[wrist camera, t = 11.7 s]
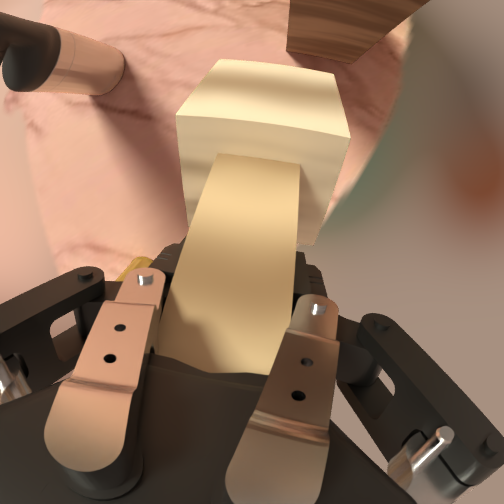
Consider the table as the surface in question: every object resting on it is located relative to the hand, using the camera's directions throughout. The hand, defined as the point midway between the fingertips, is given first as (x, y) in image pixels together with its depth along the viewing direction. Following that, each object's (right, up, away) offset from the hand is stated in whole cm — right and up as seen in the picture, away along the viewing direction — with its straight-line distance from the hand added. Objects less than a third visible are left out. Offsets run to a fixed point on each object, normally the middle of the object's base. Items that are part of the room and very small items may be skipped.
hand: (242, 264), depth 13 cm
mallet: (0, 0, +2) cm, 2 cm away
